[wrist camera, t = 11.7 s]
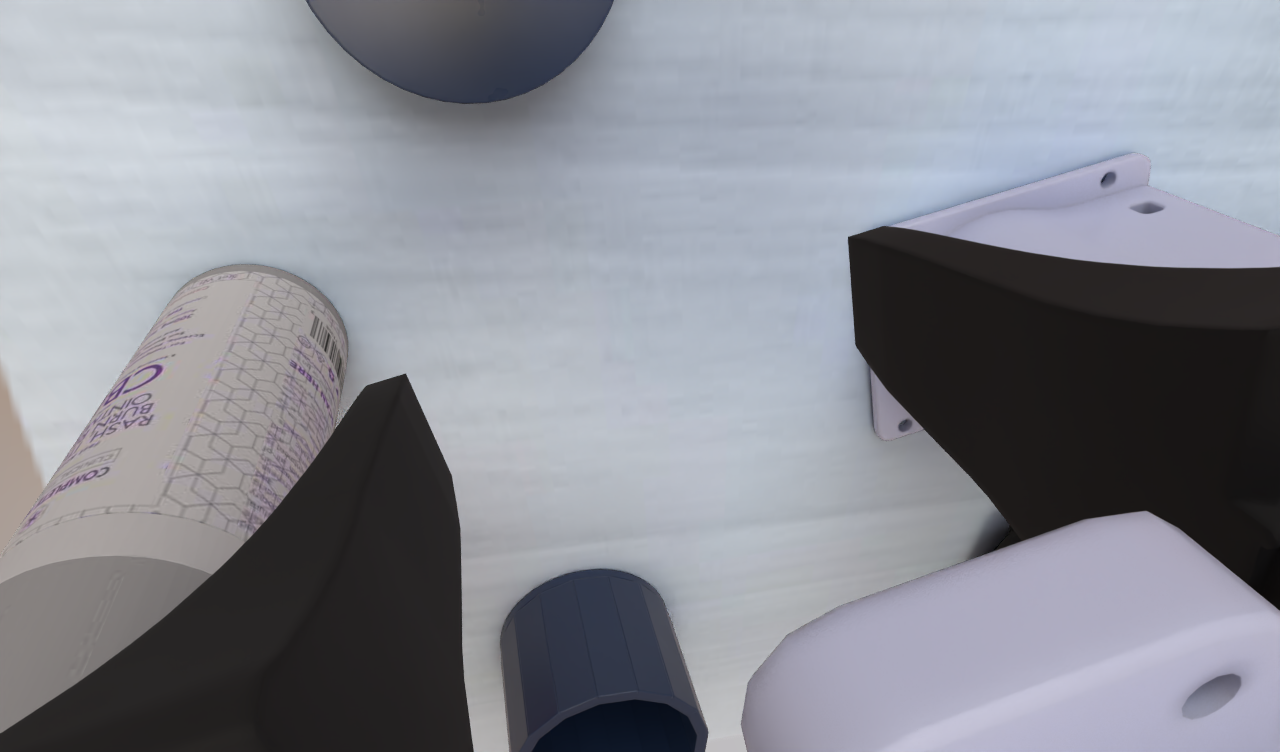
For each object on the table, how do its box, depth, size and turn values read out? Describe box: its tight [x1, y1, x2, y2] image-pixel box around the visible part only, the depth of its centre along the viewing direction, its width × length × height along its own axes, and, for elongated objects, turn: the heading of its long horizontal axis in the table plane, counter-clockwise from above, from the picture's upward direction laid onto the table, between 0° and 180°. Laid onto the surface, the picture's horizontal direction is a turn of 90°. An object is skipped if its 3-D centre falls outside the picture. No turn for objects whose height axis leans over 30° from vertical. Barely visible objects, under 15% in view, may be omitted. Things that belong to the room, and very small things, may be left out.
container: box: [0, 264, 348, 733], centre depth 15 cm, size 5×5×15 cm
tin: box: [500, 569, 708, 752], centre depth 28 cm, size 6×6×5 cm
